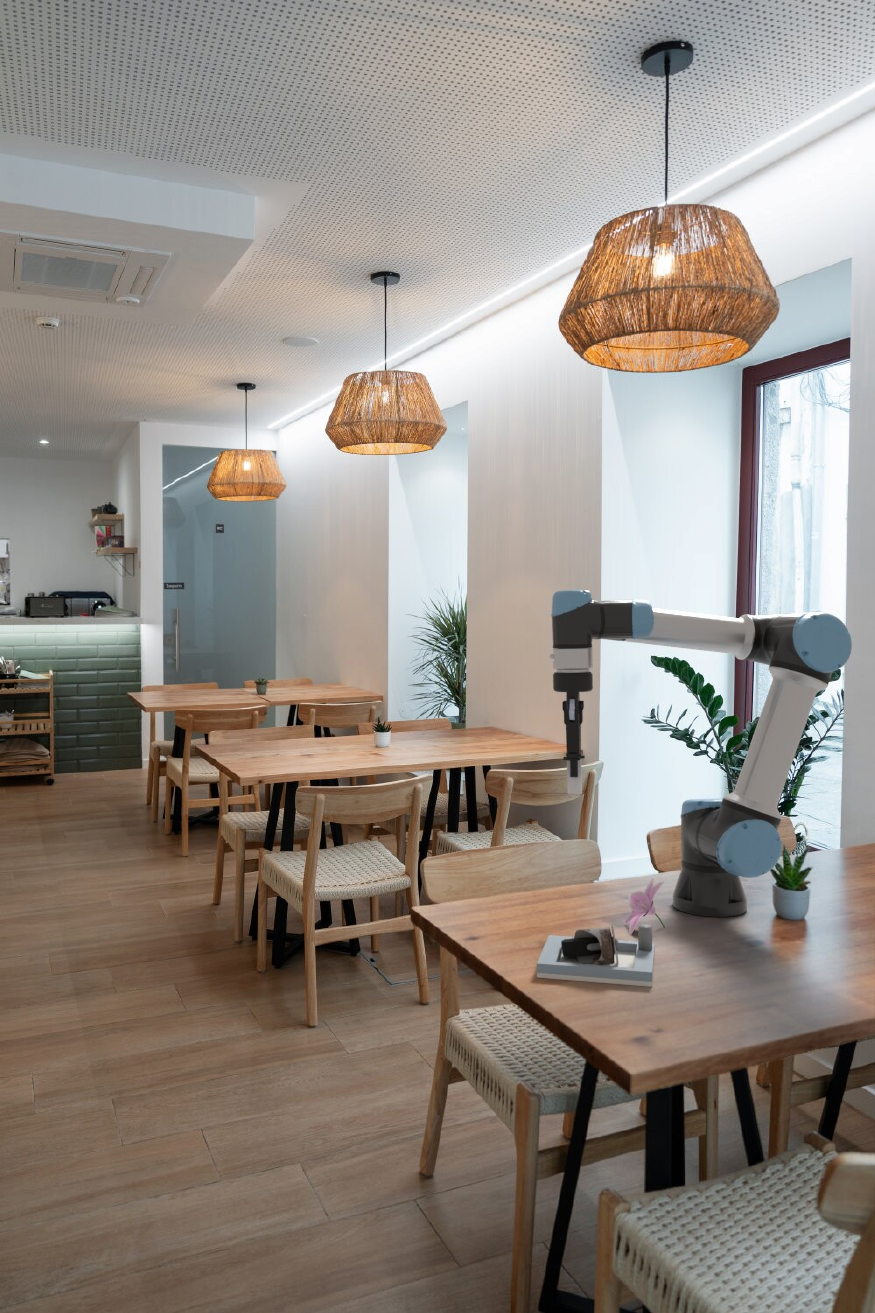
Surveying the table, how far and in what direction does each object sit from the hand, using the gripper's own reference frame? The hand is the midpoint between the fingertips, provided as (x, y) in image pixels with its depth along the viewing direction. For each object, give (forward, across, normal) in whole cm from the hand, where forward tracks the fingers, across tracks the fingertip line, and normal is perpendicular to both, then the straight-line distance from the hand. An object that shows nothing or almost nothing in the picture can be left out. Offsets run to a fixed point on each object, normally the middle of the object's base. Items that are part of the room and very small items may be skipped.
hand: (574, 793), depth 190 cm
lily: (+28, -6, +13) cm, 31 cm away
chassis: (+27, +18, +4) cm, 33 cm away
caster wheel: (+27, +18, +3) cm, 32 cm away
